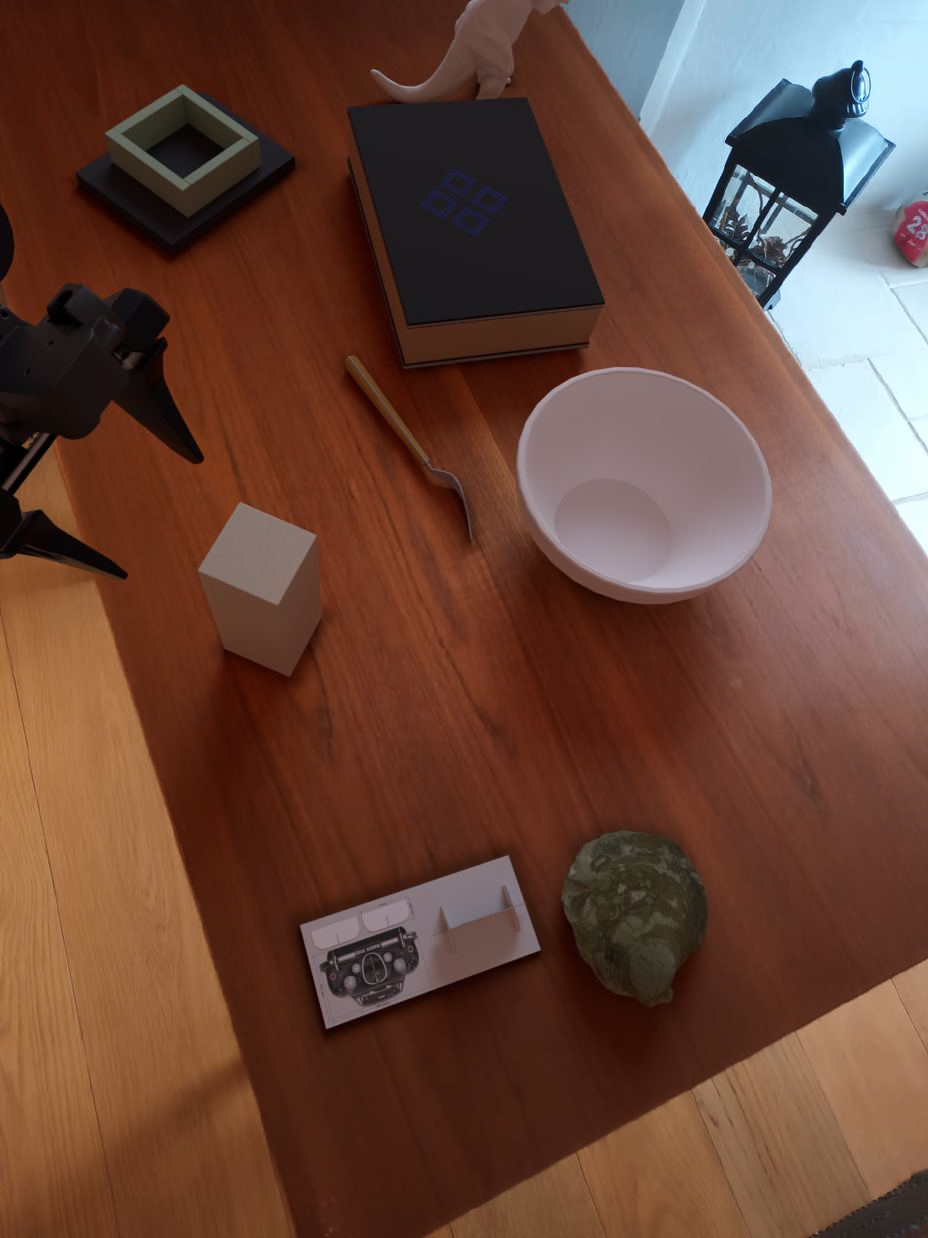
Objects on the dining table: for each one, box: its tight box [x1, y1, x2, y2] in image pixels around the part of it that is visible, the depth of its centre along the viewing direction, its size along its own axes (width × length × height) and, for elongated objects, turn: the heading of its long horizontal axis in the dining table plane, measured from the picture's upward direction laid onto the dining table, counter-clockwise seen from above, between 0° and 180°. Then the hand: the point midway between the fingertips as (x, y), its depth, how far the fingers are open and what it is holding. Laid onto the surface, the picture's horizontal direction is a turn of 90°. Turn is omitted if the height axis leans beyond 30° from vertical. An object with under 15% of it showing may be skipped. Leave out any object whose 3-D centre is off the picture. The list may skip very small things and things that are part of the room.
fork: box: [344, 355, 473, 542], centre depth 73 cm, size 2×2×20 cm
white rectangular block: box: [197, 501, 322, 678], centre depth 60 cm, size 5×5×14 cm
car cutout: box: [299, 854, 542, 1030], centre depth 57 cm, size 15×7×4 cm, turn 109°
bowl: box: [514, 366, 773, 605], centre depth 69 cm, size 20×20×10 cm
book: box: [346, 96, 606, 371], centre depth 79 cm, size 17×25×7 cm
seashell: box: [560, 829, 709, 1008], centre depth 60 cm, size 10×7×10 cm
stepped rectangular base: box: [75, 84, 296, 256], centre depth 80 cm, size 16×12×4 cm
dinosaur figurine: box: [369, 0, 570, 104], centre depth 84 cm, size 20×10×15 cm, turn 108°
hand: (163, 517), depth 54 cm, fingers open, 9 cm apart
